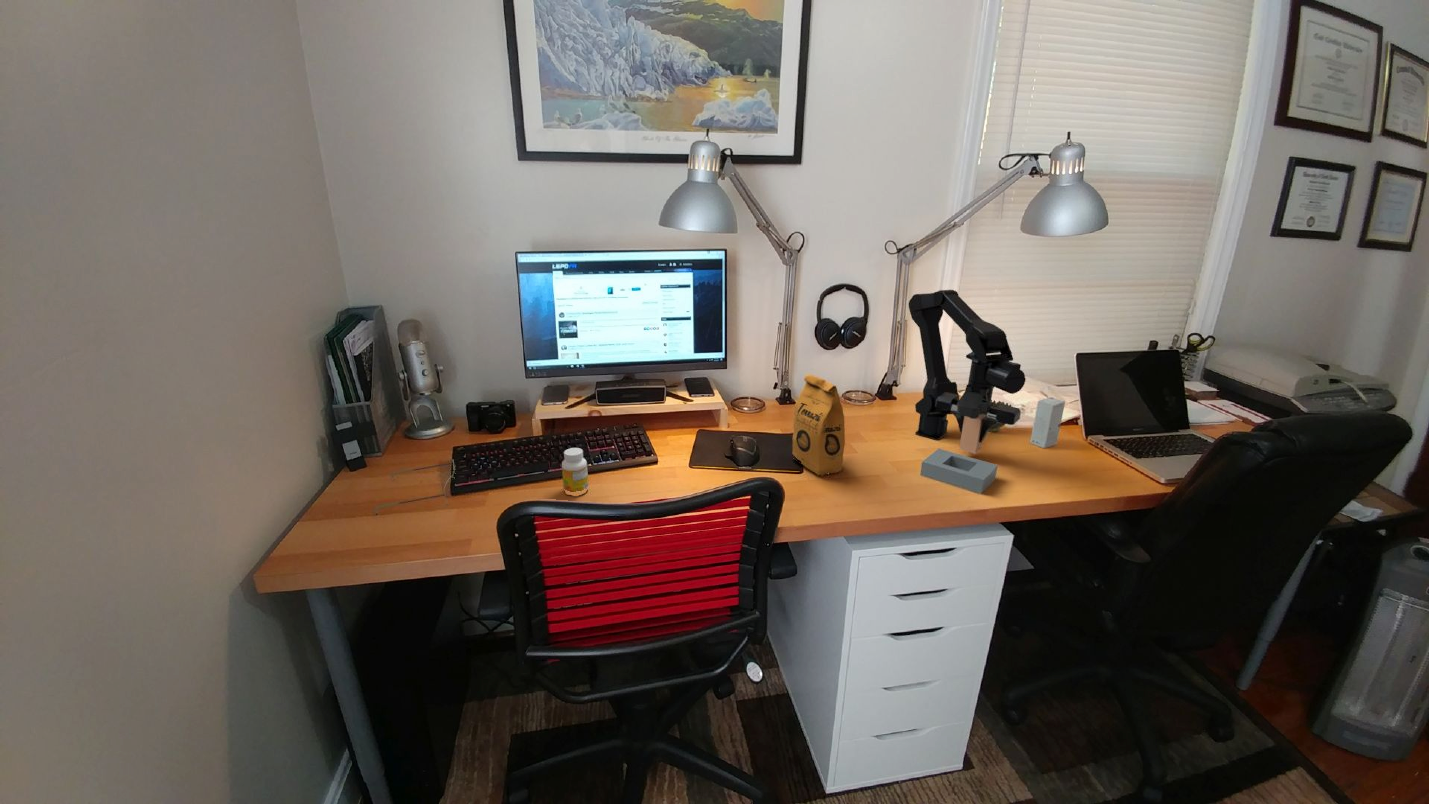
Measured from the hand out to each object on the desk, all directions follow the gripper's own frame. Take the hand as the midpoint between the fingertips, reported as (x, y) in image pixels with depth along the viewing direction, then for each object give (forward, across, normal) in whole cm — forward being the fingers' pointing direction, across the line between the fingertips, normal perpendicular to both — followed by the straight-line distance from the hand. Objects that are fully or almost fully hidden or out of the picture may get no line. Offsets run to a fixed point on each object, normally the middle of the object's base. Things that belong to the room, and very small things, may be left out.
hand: (971, 439), depth 150 cm
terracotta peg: (+3, 0, 0) cm, 3 cm away
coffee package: (+5, -26, -30) cm, 40 cm away
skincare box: (+5, +12, +22) cm, 26 cm away
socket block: (+5, +2, -13) cm, 14 cm away
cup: (+5, -1, +22) cm, 23 cm away
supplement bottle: (+5, -59, -77) cm, 97 cm away
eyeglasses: (+5, -84, -100) cm, 131 cm away
